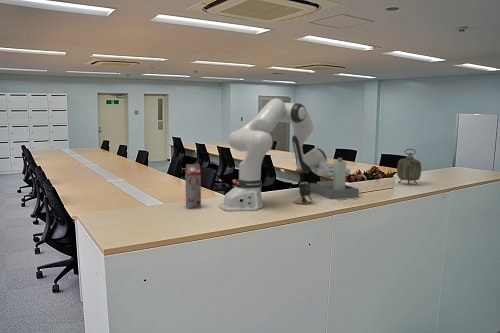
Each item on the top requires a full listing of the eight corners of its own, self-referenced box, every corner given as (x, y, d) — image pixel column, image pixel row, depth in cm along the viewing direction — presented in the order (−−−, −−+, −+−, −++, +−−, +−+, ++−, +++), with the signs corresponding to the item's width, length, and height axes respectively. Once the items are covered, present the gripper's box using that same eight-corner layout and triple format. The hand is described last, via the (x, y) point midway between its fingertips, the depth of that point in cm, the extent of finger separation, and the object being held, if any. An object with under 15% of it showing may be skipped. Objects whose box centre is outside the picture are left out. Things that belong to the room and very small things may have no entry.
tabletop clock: (418, 184, 272) (420, 148, 269) (420, 186, 264) (423, 149, 260) (396, 183, 276) (398, 147, 272) (398, 185, 267) (400, 149, 263)
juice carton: (200, 208, 195) (200, 164, 192) (187, 209, 193) (187, 165, 190) (198, 205, 201) (198, 163, 199) (185, 206, 200) (185, 163, 197)
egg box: (322, 194, 229) (322, 183, 229) (316, 191, 237) (316, 181, 236) (340, 192, 233) (340, 183, 232) (333, 190, 241) (333, 180, 240)
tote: (330, 201, 215) (330, 190, 215) (310, 192, 238) (310, 183, 237) (358, 199, 221) (358, 188, 220) (336, 191, 244) (336, 181, 243)
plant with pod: (304, 206, 202) (305, 168, 200) (290, 202, 212) (291, 165, 209) (315, 204, 207) (317, 167, 204) (301, 200, 216) (302, 165, 213)
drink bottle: (337, 197, 221) (338, 158, 218) (332, 195, 225) (333, 157, 222) (344, 196, 222) (346, 158, 219) (340, 195, 227) (341, 157, 224)
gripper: (312, 165, 231) (324, 168, 218) (342, 164, 237) (355, 167, 224) (312, 176, 232) (323, 180, 219) (342, 175, 238) (355, 178, 225)
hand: (340, 173), depth 222 cm, fingers open, 8 cm apart
